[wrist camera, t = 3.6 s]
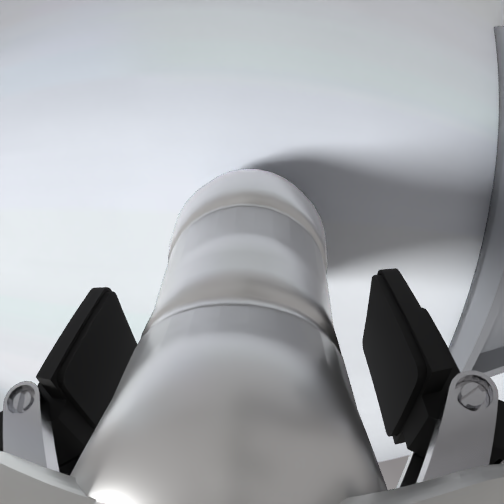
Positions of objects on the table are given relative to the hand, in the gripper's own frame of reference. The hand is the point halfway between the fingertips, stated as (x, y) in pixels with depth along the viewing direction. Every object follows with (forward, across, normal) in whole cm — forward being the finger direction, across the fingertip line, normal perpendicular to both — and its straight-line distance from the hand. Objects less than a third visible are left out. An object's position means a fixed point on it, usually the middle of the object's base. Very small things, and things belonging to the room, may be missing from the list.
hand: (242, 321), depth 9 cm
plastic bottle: (+7, 0, 0) cm, 7 cm away
